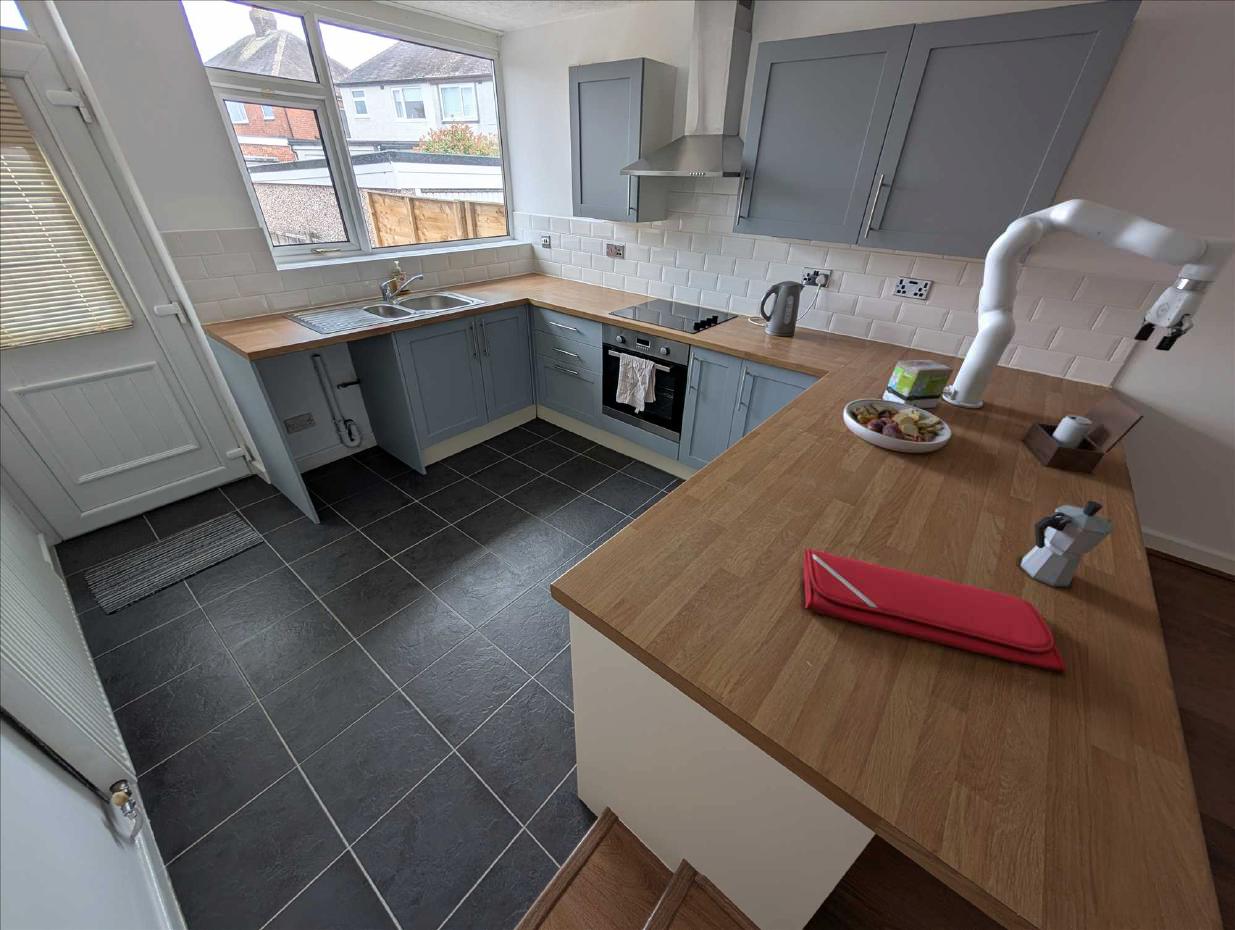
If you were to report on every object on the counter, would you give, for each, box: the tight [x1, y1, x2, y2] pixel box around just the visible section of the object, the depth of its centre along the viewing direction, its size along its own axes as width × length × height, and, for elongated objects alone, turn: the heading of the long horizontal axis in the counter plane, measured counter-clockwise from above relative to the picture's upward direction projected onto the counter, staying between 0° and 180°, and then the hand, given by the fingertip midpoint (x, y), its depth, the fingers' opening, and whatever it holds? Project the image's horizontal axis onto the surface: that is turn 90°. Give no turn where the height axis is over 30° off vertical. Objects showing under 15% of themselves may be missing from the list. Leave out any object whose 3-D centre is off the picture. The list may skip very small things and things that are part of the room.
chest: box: [1022, 421, 1106, 475], centre depth 141 cm, size 11×16×7 cm
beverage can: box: [1051, 414, 1092, 449], centre depth 139 cm, size 6×6×12 cm
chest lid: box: [1083, 391, 1145, 454], centre depth 134 cm, size 12×16×1 cm
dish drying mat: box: [803, 547, 1067, 672], centre depth 88 cm, size 16×41×4 cm, turn 74°
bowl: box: [843, 398, 952, 454], centre depth 148 cm, size 30×30×8 cm
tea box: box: [882, 359, 954, 409], centre depth 166 cm, size 15×10×15 cm, turn 105°
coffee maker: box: [1020, 500, 1115, 588], centre depth 95 cm, size 15×9×18 cm, turn 92°
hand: (1150, 344), depth 143 cm, fingers open, 9 cm apart
